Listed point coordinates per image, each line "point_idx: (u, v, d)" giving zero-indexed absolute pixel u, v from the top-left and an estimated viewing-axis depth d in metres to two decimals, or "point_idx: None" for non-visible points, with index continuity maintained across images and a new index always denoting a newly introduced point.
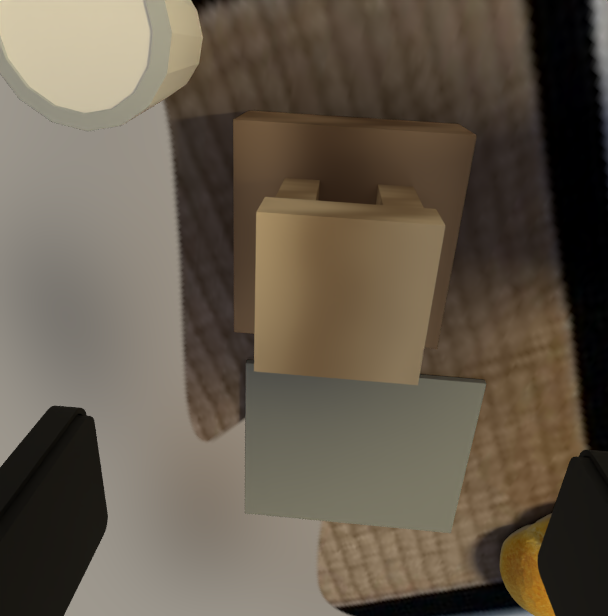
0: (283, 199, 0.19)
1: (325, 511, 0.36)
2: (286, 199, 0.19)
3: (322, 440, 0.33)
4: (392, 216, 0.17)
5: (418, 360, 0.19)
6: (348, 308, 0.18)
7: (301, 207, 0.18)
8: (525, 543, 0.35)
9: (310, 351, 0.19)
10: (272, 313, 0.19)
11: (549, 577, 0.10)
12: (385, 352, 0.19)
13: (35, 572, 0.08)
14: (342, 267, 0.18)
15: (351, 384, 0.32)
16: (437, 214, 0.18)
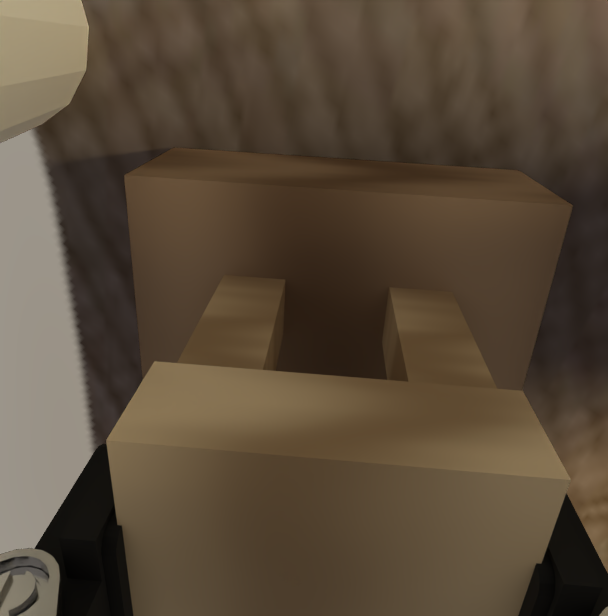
0: (192, 370, 0.09)
1: None
2: (199, 367, 0.09)
3: None
4: (435, 438, 0.07)
5: None
6: None
7: (224, 407, 0.08)
8: None
9: None
10: None
11: None
12: None
13: None
14: (318, 549, 0.08)
15: None
16: (533, 417, 0.08)
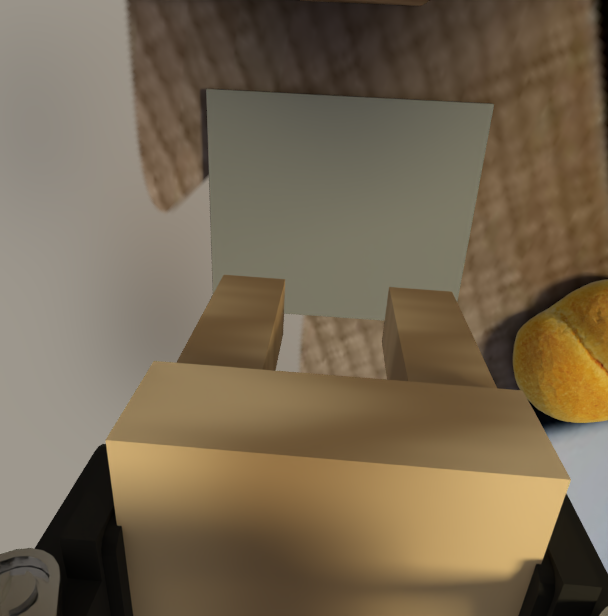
0: (191, 370, 0.09)
1: (306, 301, 0.31)
2: (199, 367, 0.09)
3: (300, 199, 0.28)
4: (435, 438, 0.07)
5: None
6: None
7: (224, 406, 0.08)
8: (544, 323, 0.29)
9: None
10: None
11: None
12: None
13: None
14: (317, 550, 0.08)
15: (332, 114, 0.26)
16: (533, 417, 0.08)
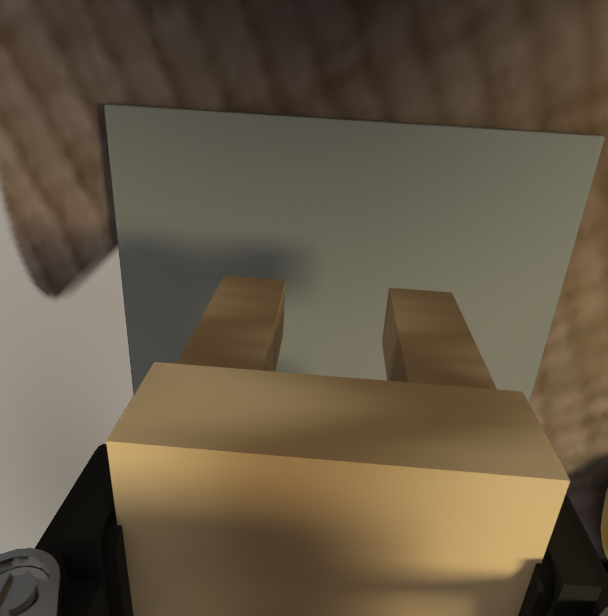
0: (192, 371, 0.09)
1: None
2: (200, 368, 0.09)
3: None
4: (435, 439, 0.07)
5: None
6: None
7: (224, 407, 0.08)
8: None
9: None
10: None
11: None
12: None
13: None
14: (317, 551, 0.08)
15: (322, 149, 0.15)
16: (533, 418, 0.08)
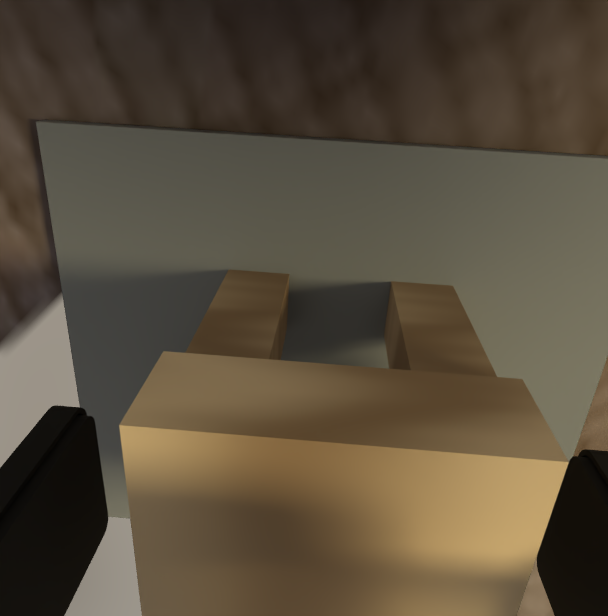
0: (200, 359, 0.09)
1: None
2: (208, 357, 0.09)
3: None
4: (437, 423, 0.08)
5: None
6: (338, 601, 0.08)
7: (232, 394, 0.08)
8: None
9: None
10: (177, 603, 0.09)
11: (548, 577, 0.10)
12: None
13: (36, 572, 0.08)
14: (323, 532, 0.08)
15: (314, 178, 0.12)
16: (532, 404, 0.08)
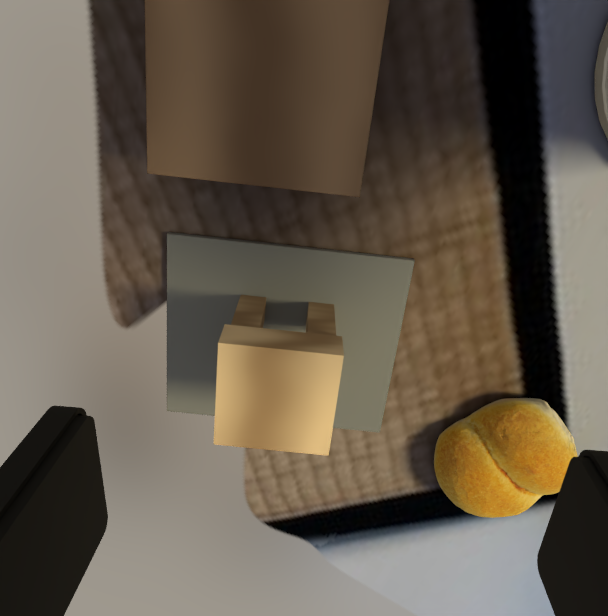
0: (237, 327, 0.27)
1: None
2: (239, 326, 0.27)
3: None
4: (310, 346, 0.26)
5: (328, 439, 0.27)
6: (279, 404, 0.27)
7: (249, 336, 0.26)
8: (460, 433, 0.34)
9: (253, 432, 0.27)
10: (227, 406, 0.27)
11: (549, 577, 0.10)
12: (305, 433, 0.27)
13: (35, 572, 0.08)
14: (275, 379, 0.26)
15: (277, 260, 0.30)
16: (341, 342, 0.27)
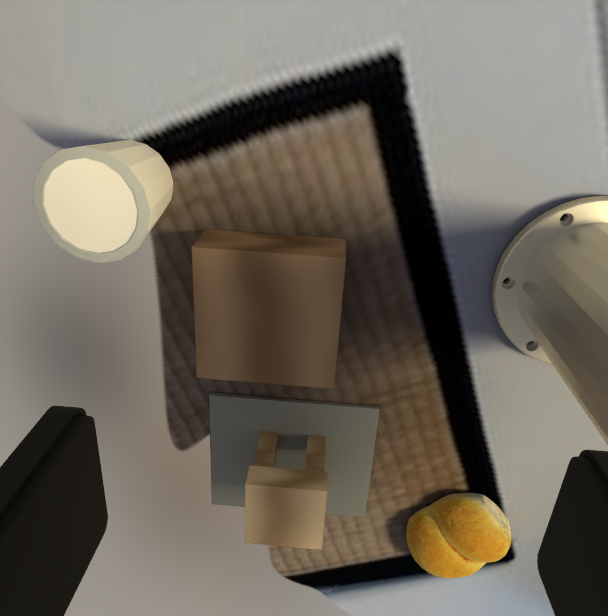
0: (258, 467, 0.41)
1: None
2: (259, 467, 0.41)
3: None
4: (305, 483, 0.39)
5: (321, 539, 0.41)
6: (287, 519, 0.40)
7: (265, 476, 0.40)
8: (422, 519, 0.47)
9: (271, 535, 0.41)
10: (253, 520, 0.41)
11: (549, 577, 0.10)
12: (305, 536, 0.41)
13: (35, 572, 0.08)
14: (283, 504, 0.40)
15: (285, 409, 0.44)
16: (326, 478, 0.40)
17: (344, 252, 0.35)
